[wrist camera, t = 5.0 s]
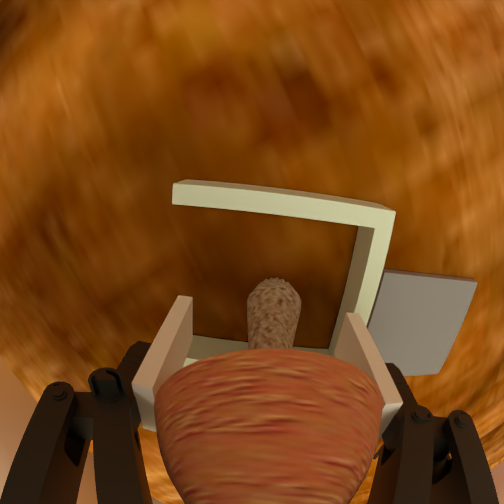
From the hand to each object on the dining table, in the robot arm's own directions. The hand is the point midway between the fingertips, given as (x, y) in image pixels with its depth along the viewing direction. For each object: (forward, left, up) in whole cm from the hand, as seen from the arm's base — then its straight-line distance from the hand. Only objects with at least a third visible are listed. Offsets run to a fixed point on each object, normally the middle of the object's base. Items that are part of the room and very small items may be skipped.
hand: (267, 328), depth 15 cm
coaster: (+13, -3, -6) cm, 15 cm away
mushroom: (0, 0, -4) cm, 4 cm away
